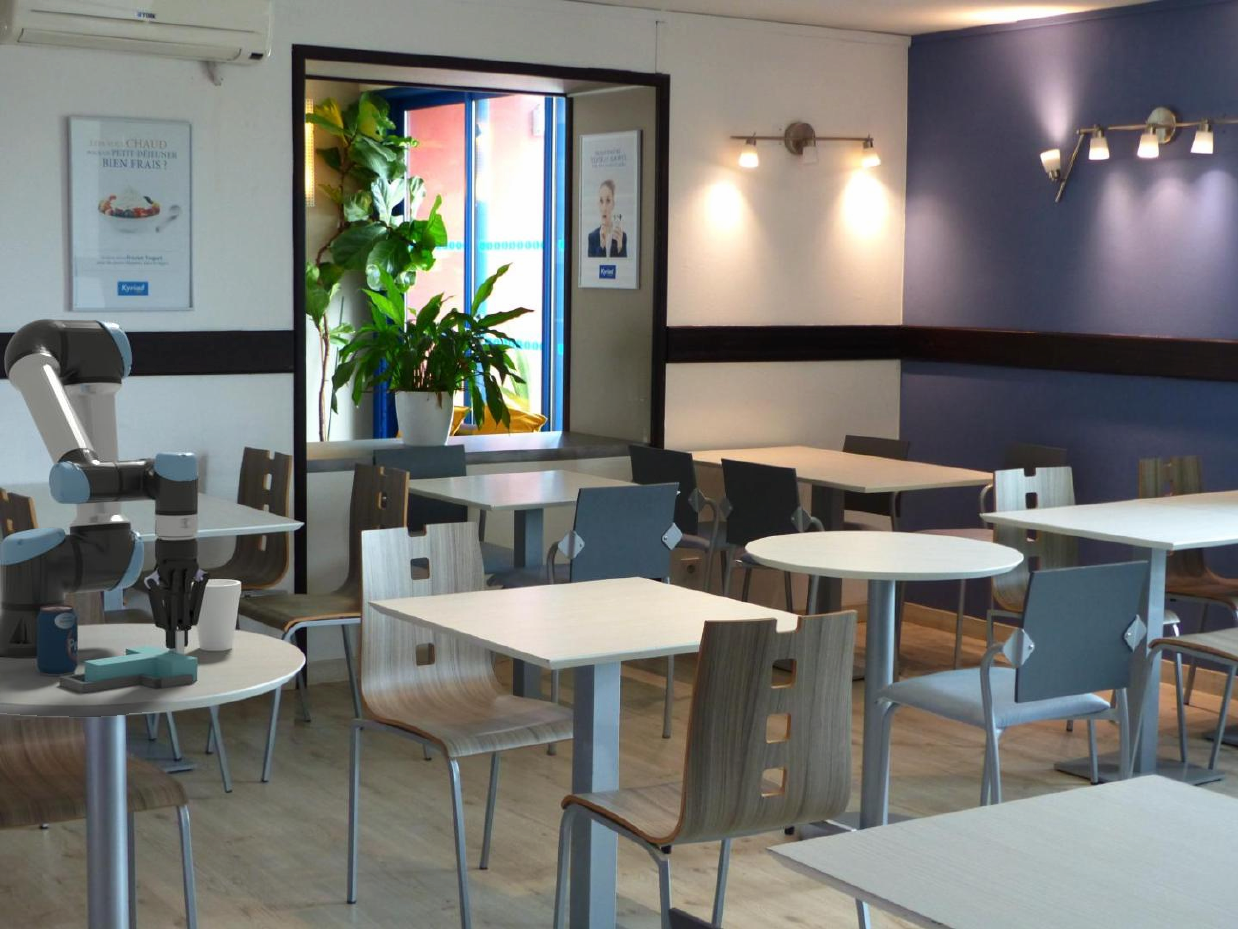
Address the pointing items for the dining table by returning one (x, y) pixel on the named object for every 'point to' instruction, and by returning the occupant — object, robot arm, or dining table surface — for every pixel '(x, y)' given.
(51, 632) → the soda can
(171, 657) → the t block
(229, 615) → the foam cup
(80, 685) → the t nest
